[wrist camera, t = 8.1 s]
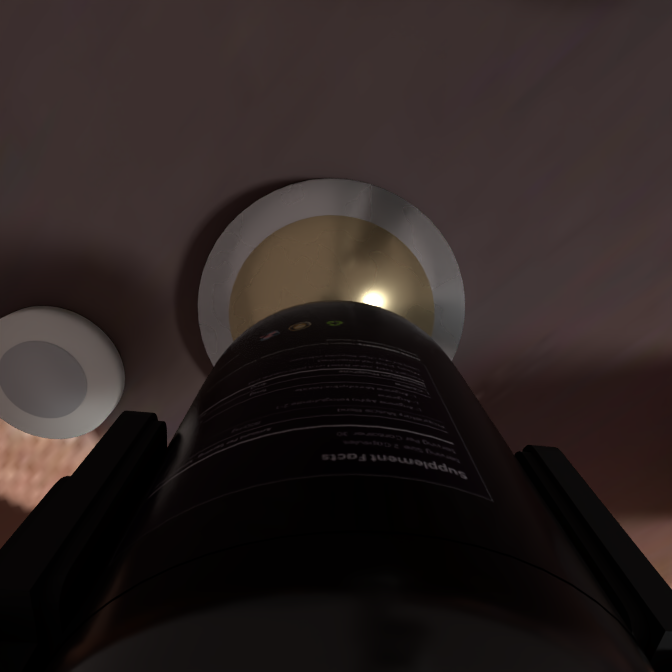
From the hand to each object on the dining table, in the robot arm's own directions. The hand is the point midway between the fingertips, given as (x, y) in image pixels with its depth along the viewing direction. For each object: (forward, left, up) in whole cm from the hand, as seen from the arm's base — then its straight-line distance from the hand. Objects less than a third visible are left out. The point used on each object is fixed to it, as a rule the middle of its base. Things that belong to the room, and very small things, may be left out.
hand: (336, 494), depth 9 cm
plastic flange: (+4, -12, -12) cm, 17 cm away
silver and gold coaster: (0, 0, -12) cm, 12 cm away
